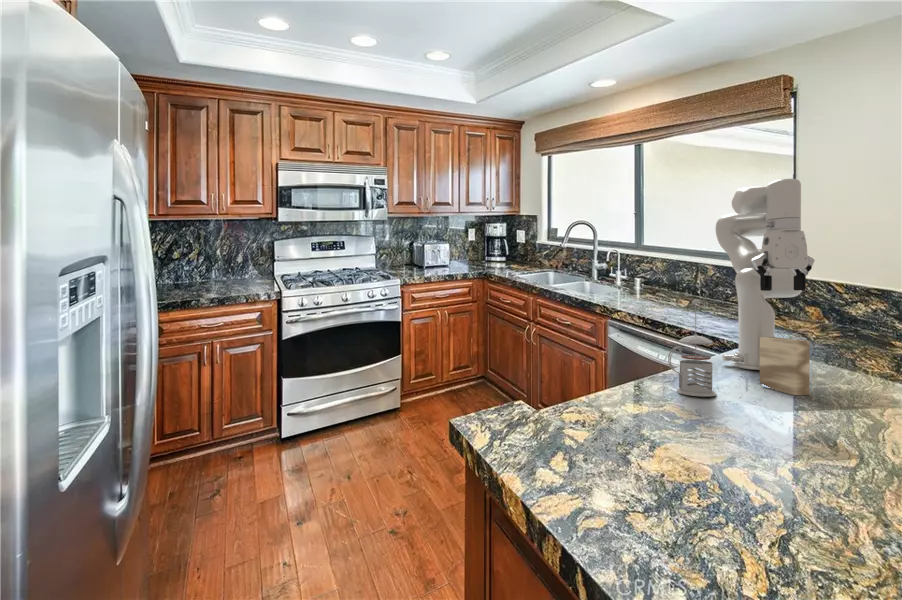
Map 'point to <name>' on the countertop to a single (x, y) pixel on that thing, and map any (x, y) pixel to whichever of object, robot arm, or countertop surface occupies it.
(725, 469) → the countertop surface
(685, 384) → the french press
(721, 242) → the robot arm
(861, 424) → the countertop surface
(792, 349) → the maple block
